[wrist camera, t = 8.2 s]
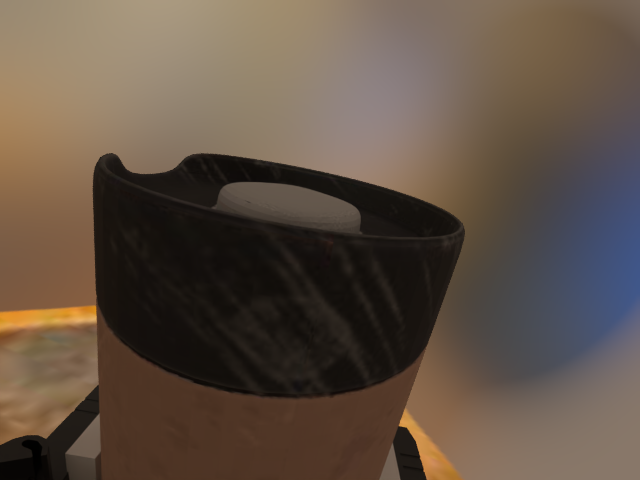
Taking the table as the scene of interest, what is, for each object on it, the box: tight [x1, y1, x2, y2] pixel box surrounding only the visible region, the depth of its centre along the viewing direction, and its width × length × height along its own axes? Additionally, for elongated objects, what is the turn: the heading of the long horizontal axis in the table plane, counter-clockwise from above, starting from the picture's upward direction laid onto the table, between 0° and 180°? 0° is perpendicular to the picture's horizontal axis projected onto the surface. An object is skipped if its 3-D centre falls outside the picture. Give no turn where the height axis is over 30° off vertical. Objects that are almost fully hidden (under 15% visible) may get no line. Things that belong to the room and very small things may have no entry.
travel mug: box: [93, 153, 465, 480], centre depth 10 cm, size 8×8×20 cm
